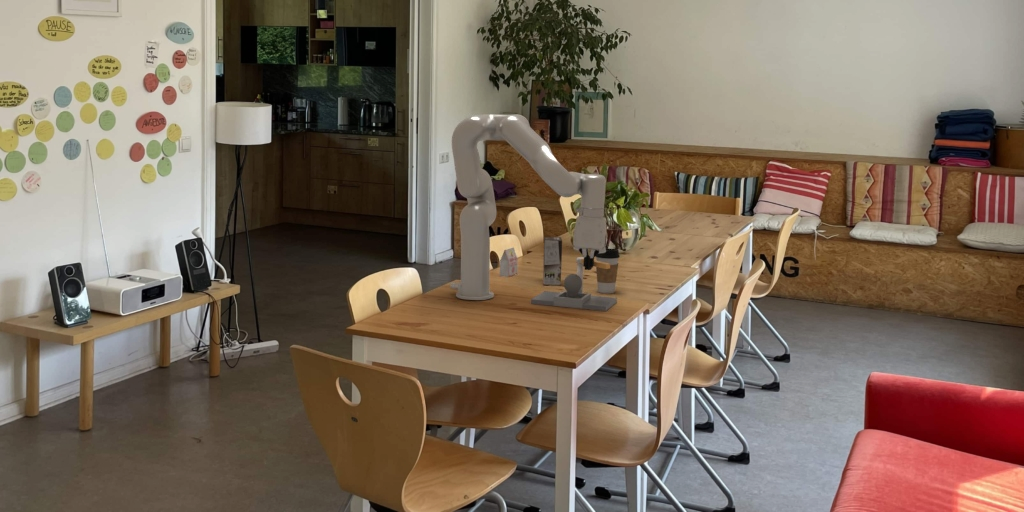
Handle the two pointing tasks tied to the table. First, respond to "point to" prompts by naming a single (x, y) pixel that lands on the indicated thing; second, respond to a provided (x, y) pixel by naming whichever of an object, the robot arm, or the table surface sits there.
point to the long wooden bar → (595, 263)
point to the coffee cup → (607, 271)
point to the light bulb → (572, 285)
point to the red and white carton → (508, 263)
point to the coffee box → (552, 260)
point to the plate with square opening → (580, 302)
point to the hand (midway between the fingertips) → (588, 269)
